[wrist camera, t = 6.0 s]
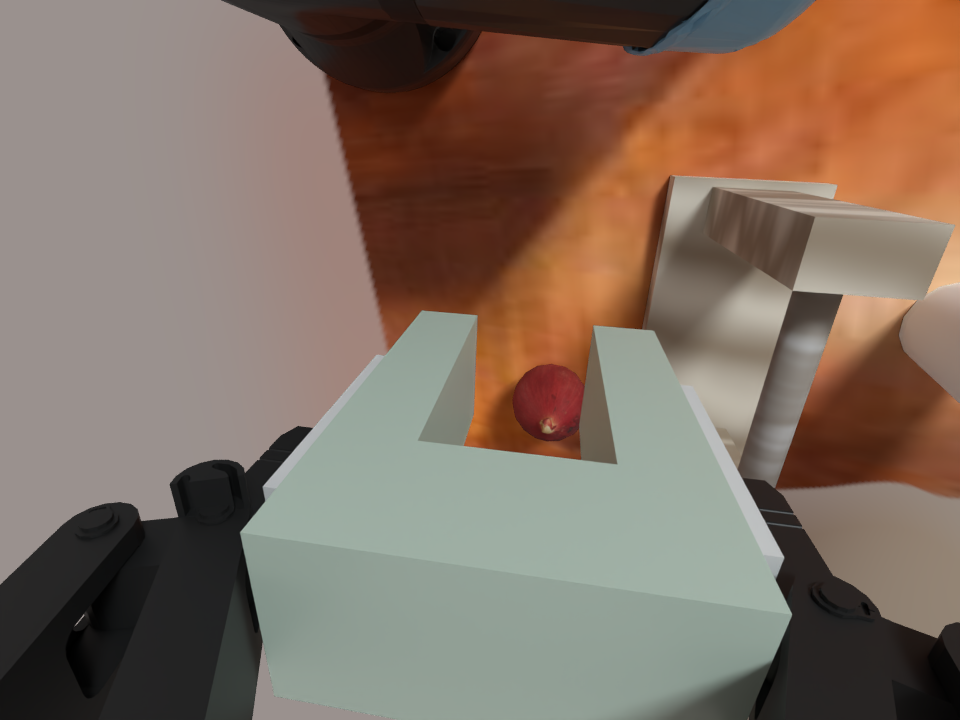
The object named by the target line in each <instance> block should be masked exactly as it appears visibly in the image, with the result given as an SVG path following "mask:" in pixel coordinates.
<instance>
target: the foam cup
mask: <svg viewBox="0 0 960 720" xmlns="http://www.w3.org/2000/svg"><path fill="white" fill-rule="evenodd" d="M899 338H900V341H901V344H902V347H903V351H904V352H905V353H907V354H908V356H909V357H910V358H911V359H912V360H913V361H914V362H916V363H917V364H918V365H919V366H920V367H921V368H922V369H923V370H924V371H925V372H926V373H927V374H928V375H930V376H931V377H932V378H933V379H934V380H935V381H936V382H937V383H938V384H939V385H940V386H941V387H942V388H944V389H945V390H946V391H947V392H948V393H949V394H950V395H951V396H952V397H953V398H954V399H955V400H956V401H958V402H959V403H960V282H959V283H954V284H949V285H945V286H940V287H938V288H936V289H935V290H933V291H931V292H930V293H928V294H926V296H925V298H924V300H917V301H916V303H915V304H914V305H913V306H912V307H911V309H910V310H909V311H908V312H907V313H906V315H905V316H904V317H903V321H902V325H901V328H900V332H899Z"/></svg>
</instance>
